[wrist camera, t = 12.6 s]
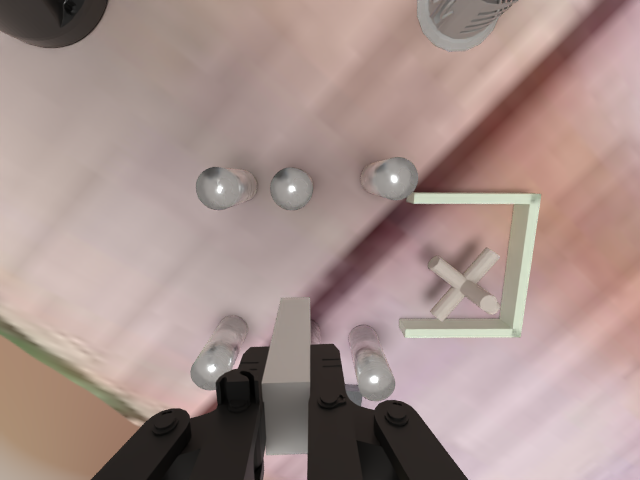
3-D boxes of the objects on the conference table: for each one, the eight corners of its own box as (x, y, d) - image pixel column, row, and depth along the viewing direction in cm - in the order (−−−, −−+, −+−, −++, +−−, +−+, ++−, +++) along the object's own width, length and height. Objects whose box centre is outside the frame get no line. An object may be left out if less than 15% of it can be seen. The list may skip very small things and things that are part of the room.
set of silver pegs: (207, 161, 39) (171, 155, 29) (392, 162, 39) (419, 157, 29) (220, 352, 44) (193, 402, 34) (383, 351, 44) (403, 400, 34)
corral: (407, 192, 40) (414, 193, 37) (524, 192, 40) (541, 193, 37) (398, 326, 43) (405, 337, 41) (506, 326, 44) (520, 337, 41)
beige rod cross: (447, 318, 44) (488, 362, 34) (393, 279, 42) (421, 313, 32) (496, 263, 42) (554, 293, 32) (443, 219, 40) (488, 237, 30)
